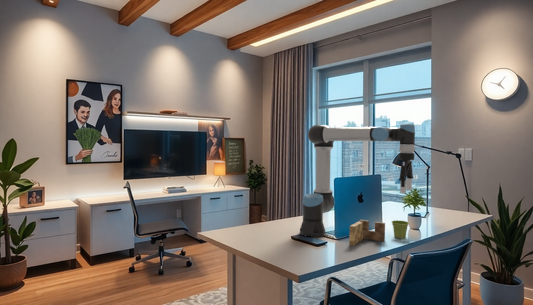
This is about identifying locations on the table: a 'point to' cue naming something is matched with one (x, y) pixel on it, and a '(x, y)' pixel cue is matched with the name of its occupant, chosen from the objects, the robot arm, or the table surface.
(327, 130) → the robot arm
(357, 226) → the oak board
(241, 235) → the table surface
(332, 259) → the table surface
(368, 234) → the wooden u-shaped block
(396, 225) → the plant pot
